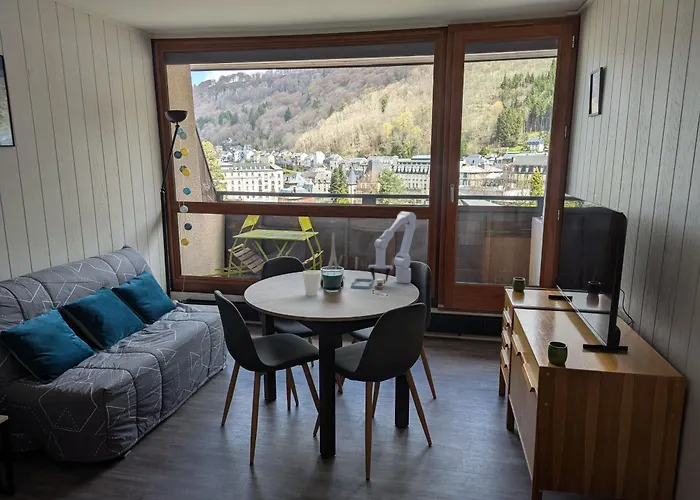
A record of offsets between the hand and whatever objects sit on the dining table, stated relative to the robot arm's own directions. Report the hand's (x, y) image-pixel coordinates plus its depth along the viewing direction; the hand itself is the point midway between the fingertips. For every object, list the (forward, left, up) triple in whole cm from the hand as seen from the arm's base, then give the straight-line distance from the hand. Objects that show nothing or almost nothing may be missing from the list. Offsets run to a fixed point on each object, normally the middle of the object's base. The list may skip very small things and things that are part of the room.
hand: (380, 280), depth 304 cm
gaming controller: (+28, +10, -3) cm, 30 cm away
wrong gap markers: (0, 0, -3) cm, 3 cm away
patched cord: (0, 0, -3) cm, 3 cm away
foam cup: (+36, +28, -3) cm, 46 cm away
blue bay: (+11, 0, -3) cm, 11 cm away
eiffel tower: (+33, -17, -4) cm, 37 cm away
